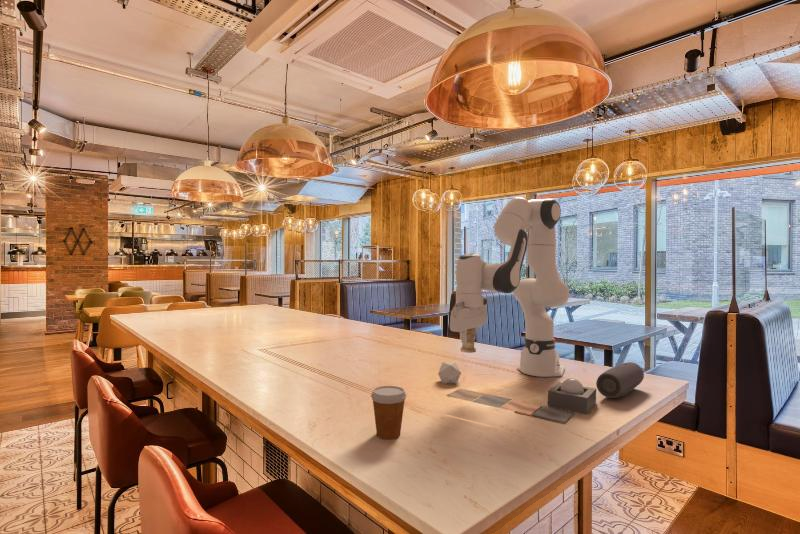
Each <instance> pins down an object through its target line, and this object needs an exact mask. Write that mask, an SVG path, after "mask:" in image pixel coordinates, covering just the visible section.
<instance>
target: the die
mask: <svg viewBox="0 0 800 534" xmlns="http://www.w3.org/2000/svg"><path fill="white" fill-rule="evenodd" d="M437 375H438V377H439V379H440V381H441V383H442V384H450V385H451V384H458V382H459V379H460V377H461V375H462V371H461V369H460V367H459V366H458V364H457V362H454V361H453V362H452V361H449V362H448V361H444V362H441V365H440V367H439V369H438V373H437Z"/></svg>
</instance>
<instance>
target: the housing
mask: <svg viewBox="0 0 800 534" xmlns="http://www.w3.org/2000/svg"><path fill="white" fill-rule="evenodd" d="M562 383H563V382H557V383H556V384H555V385H553V386H552V387H551V388H549V389H548V390H547V407H552V408H557V409H561V410H566V411H571V412H574V413H580V414H584V415H588V414H589V413H590V412H591V410H592V409H593V408H594V407H595V406H594V405H597V388H594V387H589V386H584V385H583V389H584V394H583V395H579V394H573V393H568V392H562V391H560V389H561V386H562Z"/></svg>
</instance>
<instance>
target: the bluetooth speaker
mask: <svg viewBox="0 0 800 534" xmlns="http://www.w3.org/2000/svg"><path fill="white" fill-rule="evenodd" d="M644 379H645V374H644V371H643V368H642V367H641V366H640V365H639V364H638V363H635V362H624V363H623V362H622V363H620V364H618V365H616V366H613V367H610V368H609V369H607V370H606V371H604V372H602V373H601V374H600V375H598V377H597V379H596V390H598V392H599V393H600V394H601V395H602V396H604V397H605V398H609V399H614V398H615V399H616V397H621V396H623V395H625V394H627V393H628V392H629V393H630V392H632V391H634V390H635V388H637V387H638V386H639V385H640V384H641V383H642V382H643V380H644ZM629 393H628V394H629ZM628 394H627V395H628ZM625 396H626V395H625ZM623 397H624V396H623ZM621 398H622V397H621Z"/></svg>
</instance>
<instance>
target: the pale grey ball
mask: <svg viewBox="0 0 800 534" xmlns="http://www.w3.org/2000/svg"><path fill="white" fill-rule="evenodd" d="M561 383H562V386H561V389H560V391H562V392H568V393H573V394H579V395H583V394H584V389H583V386H584V385H583V384H582V382H581V381H580V380H579V379H577V378H573V377H569V378H566V379H565V380H563V382H561Z"/></svg>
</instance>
